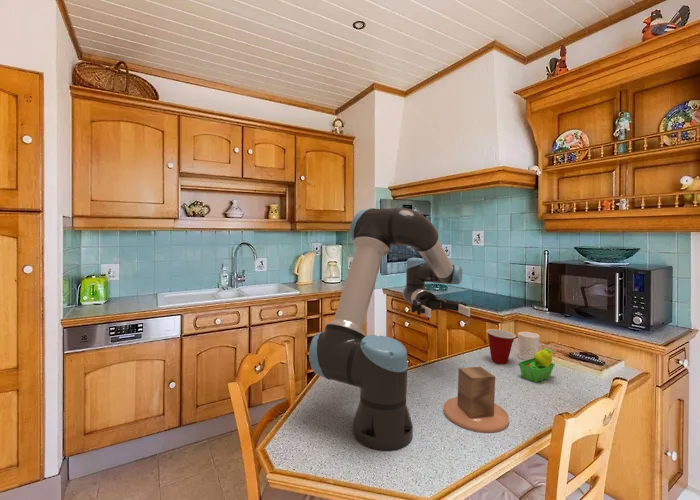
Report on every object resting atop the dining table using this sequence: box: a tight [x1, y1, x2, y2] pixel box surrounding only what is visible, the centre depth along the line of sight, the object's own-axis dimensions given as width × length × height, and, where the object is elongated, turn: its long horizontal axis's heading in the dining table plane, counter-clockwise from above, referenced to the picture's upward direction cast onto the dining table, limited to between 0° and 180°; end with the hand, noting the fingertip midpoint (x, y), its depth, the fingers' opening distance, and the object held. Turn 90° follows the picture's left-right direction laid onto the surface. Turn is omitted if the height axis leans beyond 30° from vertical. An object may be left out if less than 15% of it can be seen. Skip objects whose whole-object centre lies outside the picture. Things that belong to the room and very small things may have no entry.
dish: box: [443, 396, 510, 434], centre depth 96 cm, size 17×17×1 cm
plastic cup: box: [486, 328, 517, 365], centre depth 137 cm, size 11×11×12 cm
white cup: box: [517, 331, 540, 361], centre depth 141 cm, size 8×8×10 cm
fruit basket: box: [518, 347, 556, 383], centre depth 122 cm, size 11×9×11 cm
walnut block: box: [457, 366, 496, 418], centre depth 96 cm, size 7×7×11 cm
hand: (449, 313), depth 111 cm, fingers open, 13 cm apart
